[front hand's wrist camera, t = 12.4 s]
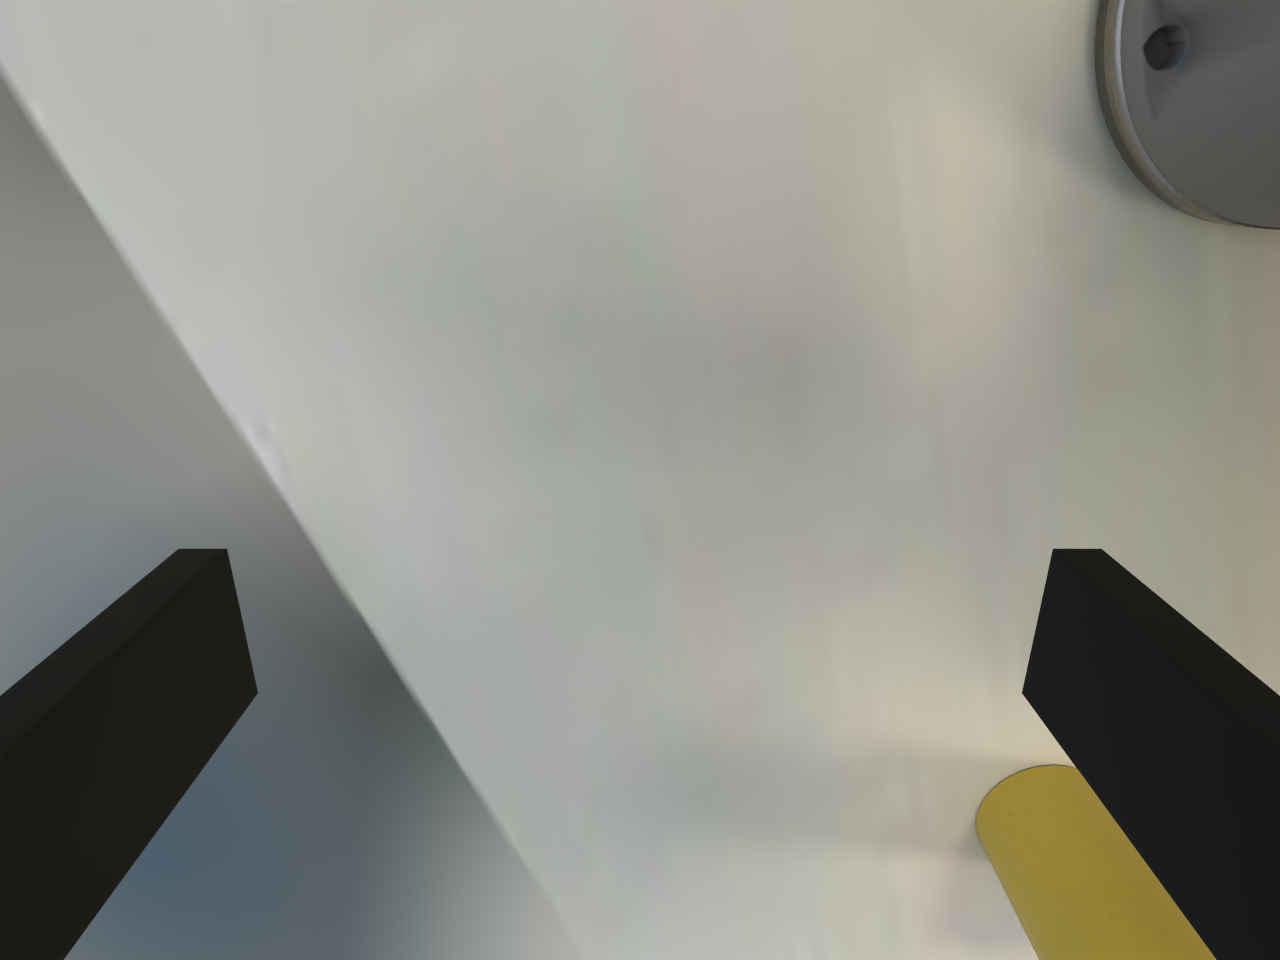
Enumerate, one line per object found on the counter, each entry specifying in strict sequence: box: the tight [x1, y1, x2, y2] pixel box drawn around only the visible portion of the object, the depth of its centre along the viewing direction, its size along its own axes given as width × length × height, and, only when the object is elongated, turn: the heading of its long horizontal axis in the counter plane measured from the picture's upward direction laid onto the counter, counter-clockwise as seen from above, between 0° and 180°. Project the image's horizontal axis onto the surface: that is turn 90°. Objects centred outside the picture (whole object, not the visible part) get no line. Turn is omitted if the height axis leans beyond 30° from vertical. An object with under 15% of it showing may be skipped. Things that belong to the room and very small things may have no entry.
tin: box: [976, 765, 1216, 960], centre depth 37 cm, size 7×7×12 cm
